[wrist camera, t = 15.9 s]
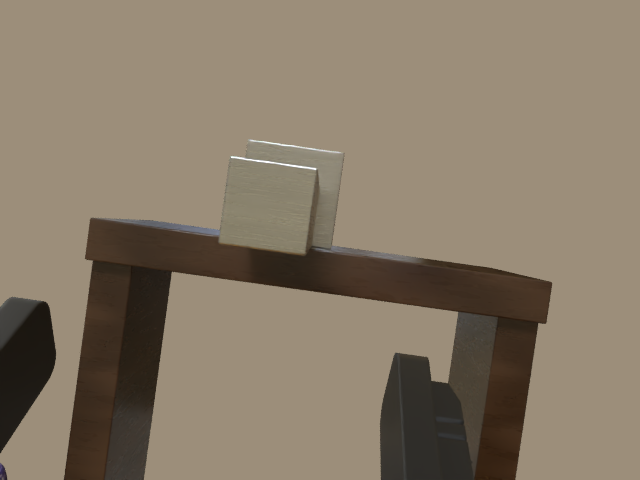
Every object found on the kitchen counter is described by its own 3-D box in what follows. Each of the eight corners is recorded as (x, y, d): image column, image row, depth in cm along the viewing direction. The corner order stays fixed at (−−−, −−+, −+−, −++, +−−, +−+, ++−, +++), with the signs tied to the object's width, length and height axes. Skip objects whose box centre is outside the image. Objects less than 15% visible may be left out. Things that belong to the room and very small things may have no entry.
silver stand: (329, 246, 36) (341, 164, 36) (335, 260, 20) (356, 112, 20) (248, 234, 36) (259, 152, 36) (188, 239, 20) (207, 91, 20)
